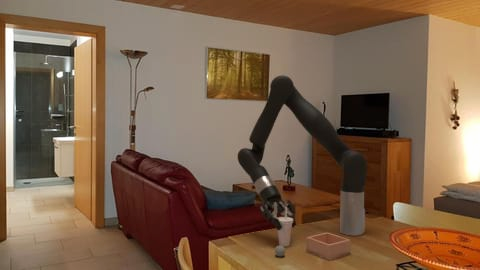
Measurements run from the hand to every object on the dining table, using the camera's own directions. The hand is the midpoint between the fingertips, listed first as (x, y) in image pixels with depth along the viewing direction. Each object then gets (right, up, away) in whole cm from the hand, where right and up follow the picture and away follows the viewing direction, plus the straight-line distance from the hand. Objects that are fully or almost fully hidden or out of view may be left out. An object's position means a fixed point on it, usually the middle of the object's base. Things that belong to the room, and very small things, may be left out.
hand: (287, 227), depth 144 cm
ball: (-4, -7, -10) cm, 13 cm away
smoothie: (-1, -7, +2) cm, 7 cm away
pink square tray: (+13, -7, -7) cm, 17 cm away
